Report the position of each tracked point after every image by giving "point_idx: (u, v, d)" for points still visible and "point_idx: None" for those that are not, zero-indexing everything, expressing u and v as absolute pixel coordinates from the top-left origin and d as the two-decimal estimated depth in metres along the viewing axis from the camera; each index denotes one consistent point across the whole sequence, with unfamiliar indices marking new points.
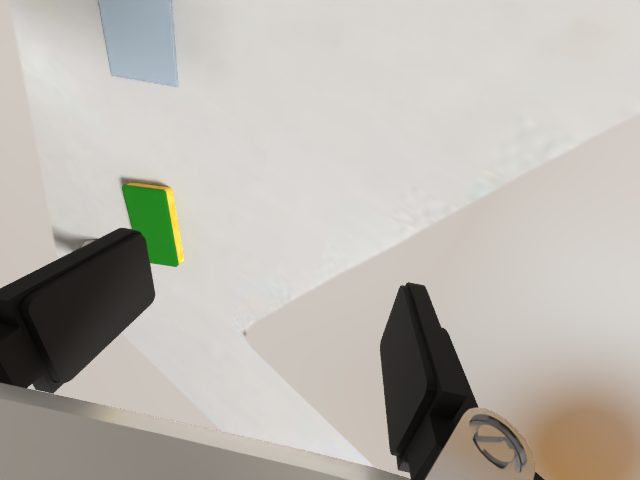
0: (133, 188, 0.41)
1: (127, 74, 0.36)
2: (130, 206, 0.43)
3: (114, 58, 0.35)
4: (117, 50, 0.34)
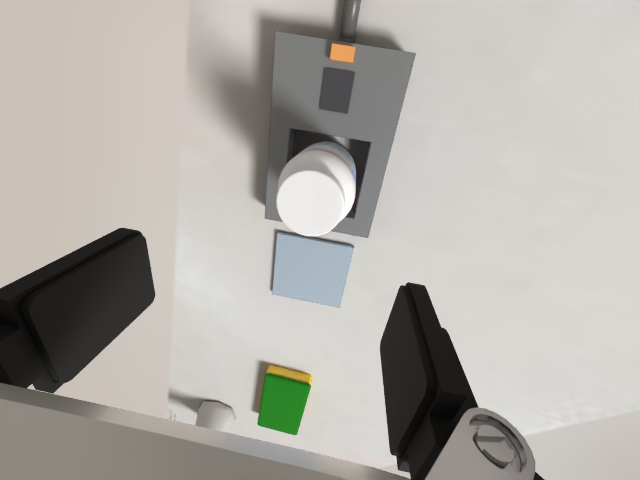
0: (278, 379, 0.41)
1: (289, 294, 0.35)
2: (268, 390, 0.42)
3: (279, 283, 0.34)
4: (284, 277, 0.34)
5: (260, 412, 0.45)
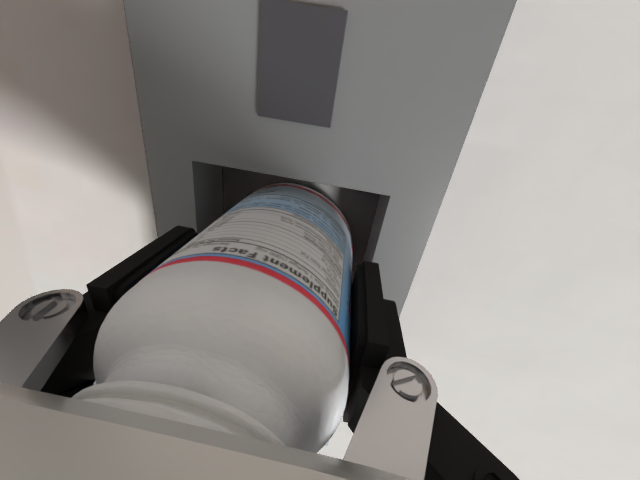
0: None
1: None
2: None
3: None
4: None
5: None
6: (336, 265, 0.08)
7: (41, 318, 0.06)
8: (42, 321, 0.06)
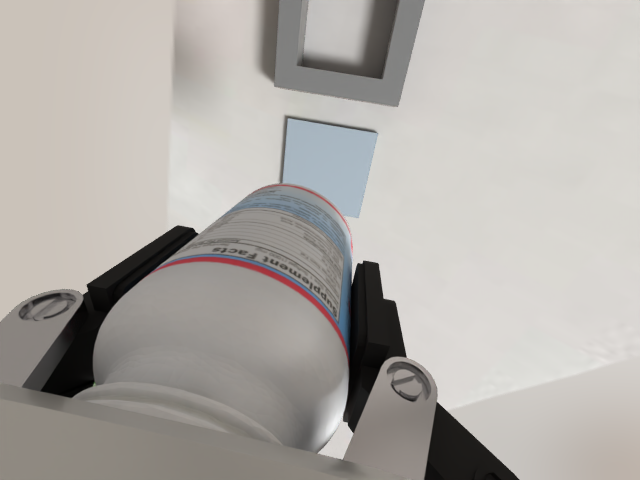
0: None
1: None
2: None
3: None
4: (295, 180, 0.29)
5: None
6: (336, 266, 0.08)
7: (41, 318, 0.06)
8: (42, 321, 0.06)
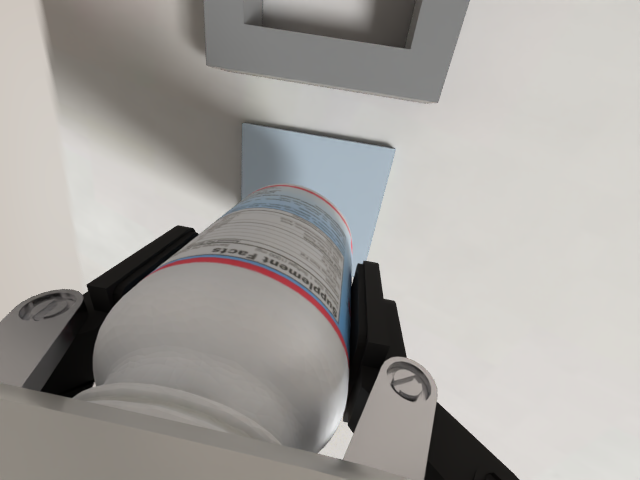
0: None
1: None
2: None
3: None
4: None
5: None
6: (336, 266, 0.08)
7: (41, 318, 0.06)
8: (42, 321, 0.06)
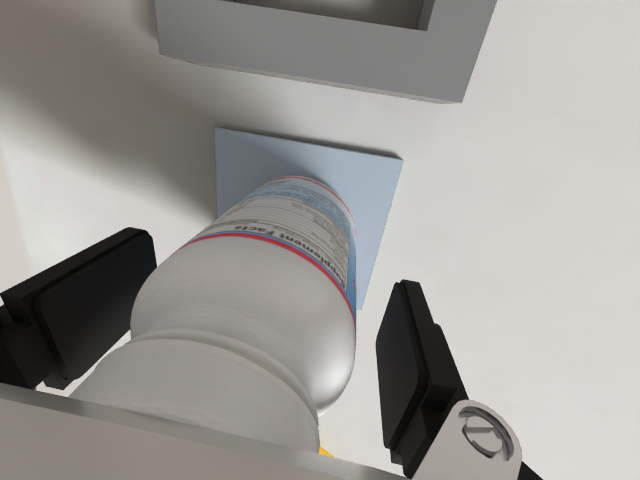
0: None
1: None
2: None
3: None
4: None
5: None
6: (343, 247, 0.09)
7: None
8: None
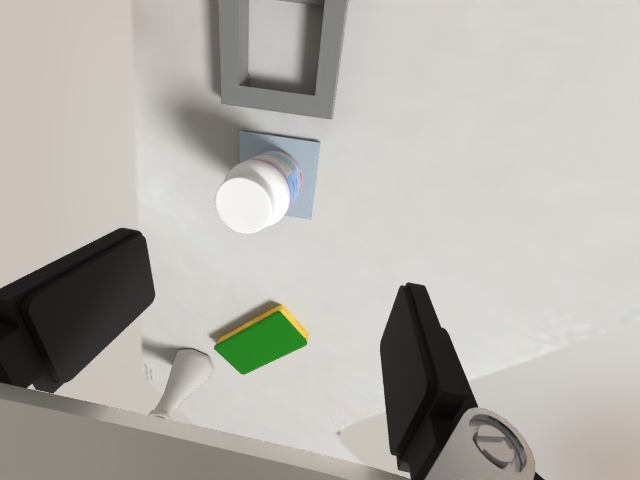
0: (285, 322, 0.39)
1: None
2: (264, 325, 0.39)
3: None
4: None
5: (231, 339, 0.41)
6: (288, 170, 0.26)
7: None
8: None
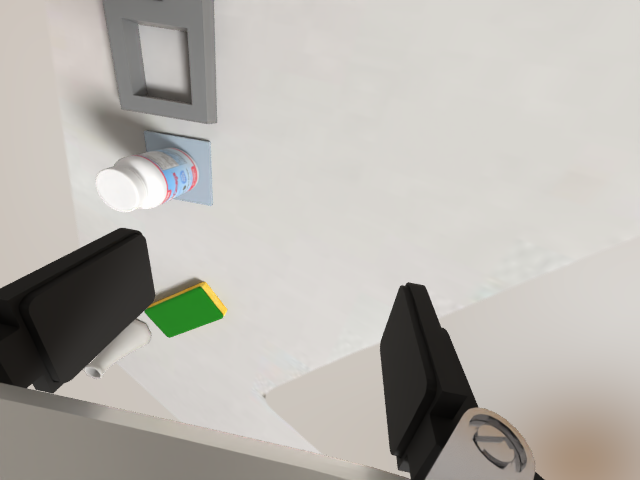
0: (205, 297, 0.46)
1: None
2: (187, 297, 0.46)
3: None
4: None
5: (159, 305, 0.48)
6: (171, 164, 0.32)
7: None
8: None
